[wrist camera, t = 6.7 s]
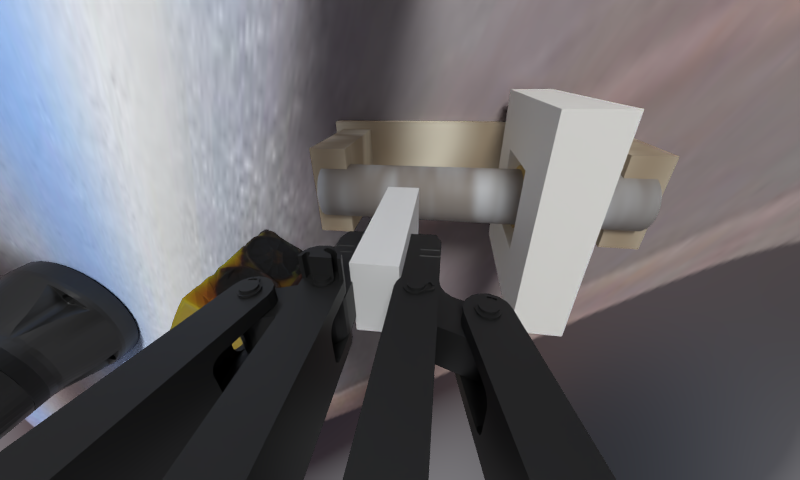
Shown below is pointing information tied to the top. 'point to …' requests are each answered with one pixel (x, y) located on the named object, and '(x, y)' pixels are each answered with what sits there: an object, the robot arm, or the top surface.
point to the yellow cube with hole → (246, 272)
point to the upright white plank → (557, 197)
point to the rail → (454, 155)
